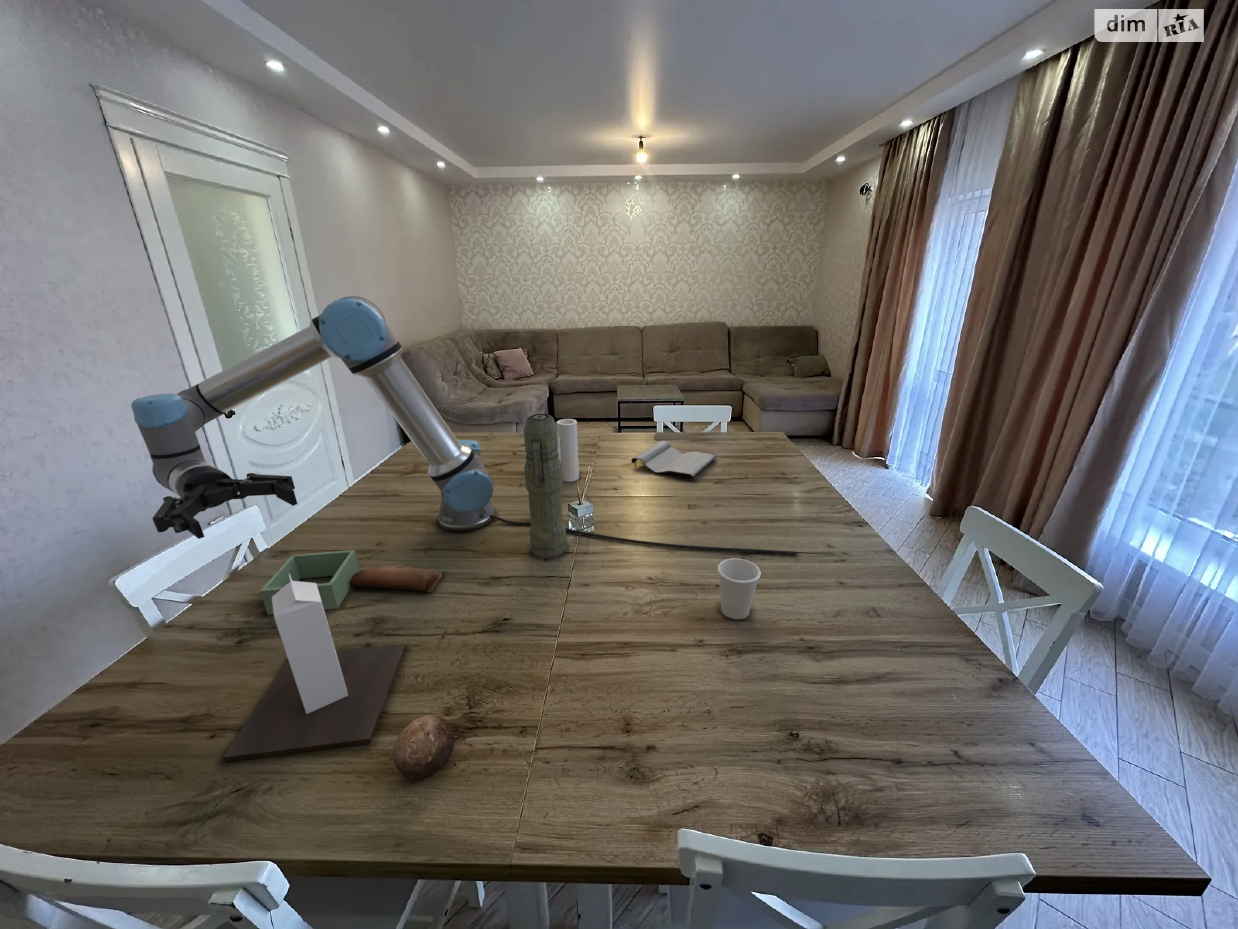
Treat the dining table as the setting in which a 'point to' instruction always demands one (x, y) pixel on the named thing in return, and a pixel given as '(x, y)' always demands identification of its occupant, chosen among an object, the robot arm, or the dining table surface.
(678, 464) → the mat
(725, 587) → the dixie cup
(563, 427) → the vase
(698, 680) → the dining table surface
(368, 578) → the sunglasses case
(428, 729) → the brown potato
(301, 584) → the milk
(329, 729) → the board
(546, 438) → the thermos
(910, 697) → the dining table surface
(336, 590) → the basket
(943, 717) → the dining table surface
